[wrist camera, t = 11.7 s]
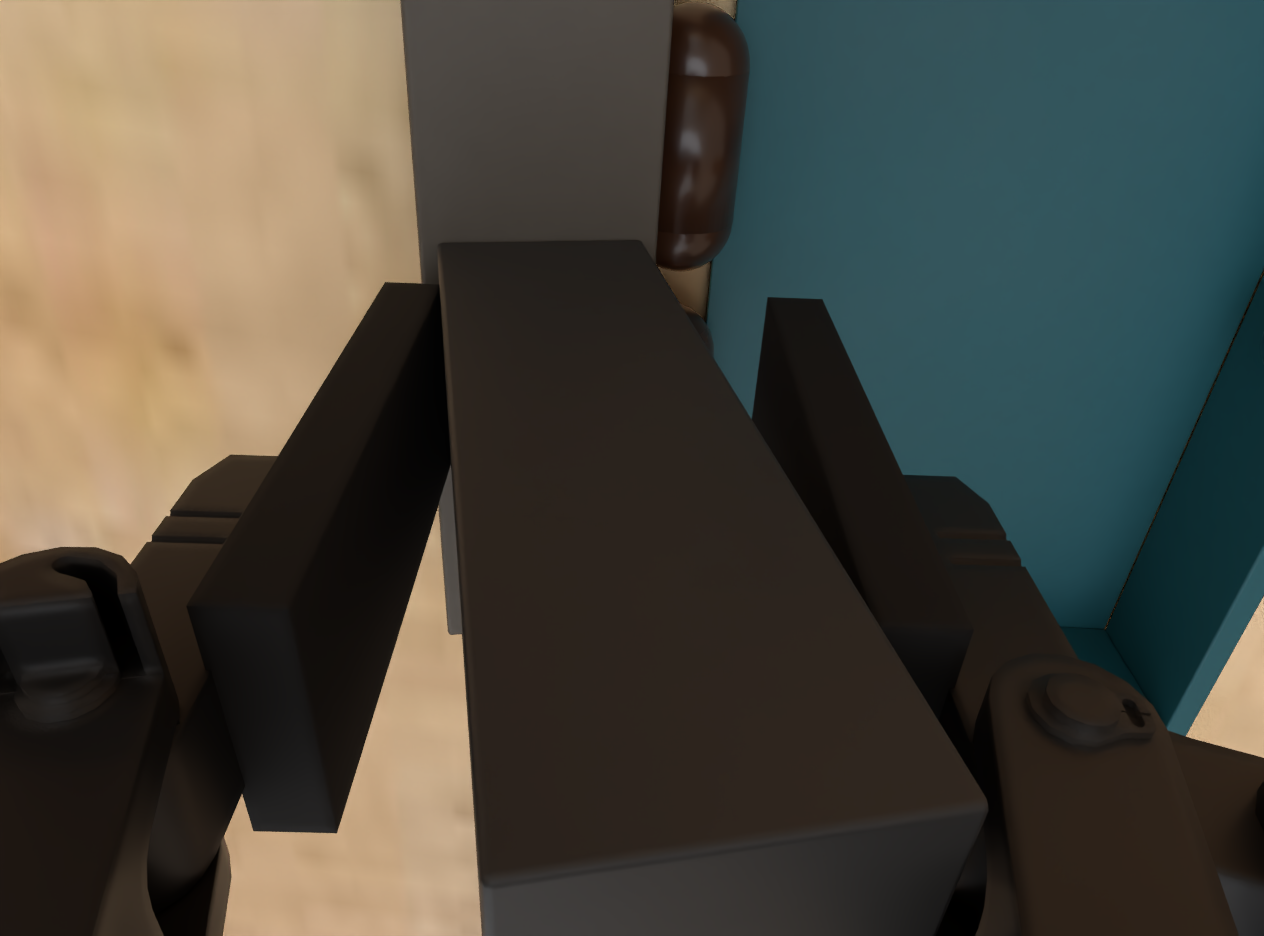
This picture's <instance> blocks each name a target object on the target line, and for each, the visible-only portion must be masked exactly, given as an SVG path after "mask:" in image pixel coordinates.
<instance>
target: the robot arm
mask: <svg viewBox="0 0 1264 936" xmlns="http://www.w3.org/2000/svg"><path fill="white" fill-rule="evenodd" d="M752 421H753V422H754V424H755V426H756V427H757V429H758V430H759V432H760V434H761V435H762V437H763V438H764V440H765V442H766V443H767V445H768V447H769V448H770V450H771V451H772V453H773V455H774V456H775V458H776V459H777V461H778V463H779V464H780V466H781V467H782V469H783V471H784V472H785V474H786V476H787V477H788V479H789V480H790V482H791V484H792V485H793V487H794V488H795V490H796V492H797V493H798V495H799V497H800V498H801V500H802V501H803V503H804V505H805V506H806V508H807V509H808V511H809V513H810V514H811V516H812V518H813V519H814V521H815V522H816V524H817V526H818V527H819V529H820V530H821V532H822V534H823V535H824V537H825V539H826V540H827V542H828V543H829V545H830V547H831V548H832V550H833V551H834V553H835V555H836V556H837V558H838V560H839V561H840V563H841V564H842V566H843V568H844V569H845V571H846V572H847V574H848V576H849V577H850V579H851V580H852V582H853V584H854V585H855V587H856V589H857V590H858V592H859V593H860V595H861V597H862V598H863V600H864V601H865V603H866V605H867V606H868V608H869V610H870V611H871V613H872V614H873V616H874V618H875V619H876V621H877V622H878V624H879V626H880V627H881V629H882V631H883V632H884V634H885V635H886V637H887V639H888V640H889V642H890V643H891V645H892V647H893V648H894V650H895V652H896V653H897V655H898V656H899V658H900V660H901V661H902V663H903V664H904V666H905V668H906V669H907V671H908V673H909V674H910V676H911V677H912V679H913V681H914V682H915V684H916V685H917V687H918V689H919V690H920V692H921V693H922V695H923V697H924V698H925V700H926V702H927V703H928V705H929V706H930V708H931V710H932V711H933V713H934V714H935V716H936V718H937V719H938V721H939V723H940V724H941V726H942V727H943V729H944V731H945V732H946V734H947V735H948V737H949V739H950V740H951V742H952V744H953V745H954V747H955V748H956V750H957V752H958V753H959V755H960V756H961V758H962V760H963V761H964V763H965V765H966V766H967V768H968V769H969V771H970V773H971V774H972V776H973V777H974V779H975V781H976V782H977V784H978V785H979V787H980V789H981V790H982V792H983V794H984V795H985V797H986V799H987V803H988V813H987V816H986V818H985V820H984V823H983V825H982V827H981V830H980V832H979V834H978V837H977V839H976V842H975V844H974V846H973V849H972V851H971V853H970V856H969V858H968V861H967V863H966V865H965V868H964V870H963V872H962V875H961V877H960V880H959V882H958V884H957V887H956V889H955V891H954V894H953V896H952V898H951V901H950V903H949V906H948V908H947V910H946V913H945V915H944V917H943V920H942V922H941V925H940V927H939V929H938V932H937V934H936V936H1264V758H1262V757H1258V756H1254V755H1251V754H1247V753H1243V752H1240V751H1236V750H1232V749H1228V748H1225V747H1221V746H1217V745H1214V744H1210V743H1206V742H1202V741H1199V740H1195V739H1191V738H1189V737H1186V736H1183V735H1180V734H1177V733H1174V732H1171V731H1168V730H1167V728H1166V726H1165V725H1164V723H1163V721H1162V720H1161V718H1160V716H1159V715H1158V713H1157V711H1156V710H1155V708H1154V706H1153V705H1152V704H1151V703H1150V702H1149V701H1148V700H1147V699H1146V698H1144V697H1143V696H1142V695H1141V694H1140V693H1139V692H1138V691H1137V690H1136V689H1134V688H1133V687H1132V686H1131V685H1130V684H1129V683H1128V682H1126V681H1124V680H1123V679H1121V678H1119V677H1117V676H1115V675H1114V674H1112V673H1110V672H1108V671H1106V670H1105V669H1103V668H1101V667H1099V666H1097V665H1095V664H1092V663H1089V662H1085V661H1082V660H1079V659H1078V657H1077V655H1076V654H1075V652H1074V650H1073V649H1072V647H1071V645H1070V643H1069V642H1068V640H1067V638H1066V636H1065V635H1064V633H1063V631H1062V629H1061V628H1060V626H1059V624H1058V623H1057V621H1056V619H1055V617H1054V616H1053V614H1052V612H1051V610H1050V609H1049V607H1048V605H1047V603H1046V602H1045V600H1044V598H1043V596H1042V595H1041V593H1040V591H1039V590H1038V588H1037V586H1036V584H1035V583H1034V581H1033V579H1032V577H1031V576H1030V574H1029V572H1028V570H1027V569H1026V567H1022V566H1021V558H1020V557H1019V555H1018V553H1017V551H1016V550H1015V548H1014V546H1013V544H1012V543H1011V541H1010V540H1006V536H1007V534H1006V532H1005V530H1004V529H1003V527H1002V525H1001V524H1000V522H999V520H998V518H997V517H996V515H995V513H994V511H993V510H992V508H991V506H990V504H989V503H988V502H986V501H985V500H984V499H983V498H982V497H980V496H979V495H978V494H977V493H975V492H974V491H973V490H972V489H970V488H969V487H968V486H967V485H965V484H964V483H963V482H962V481H961V480H959V479H958V478H957V477H956V476H927V475H903V474H902V472H901V470H900V467H899V465H898V463H897V461H896V459H895V456H894V454H893V452H892V450H891V448H890V446H889V443H888V441H887V439H886V437H885V435H884V432H883V430H882V428H881V426H880V424H879V422H878V419H877V417H876V415H875V413H874V411H873V408H872V406H871V404H870V402H869V400H868V398H867V395H866V393H865V391H864V389H863V387H862V384H861V382H860V380H859V378H858V376H857V374H856V371H855V369H854V367H853V365H852V363H851V360H850V358H849V356H848V354H847V352H846V350H845V347H844V345H843V343H842V341H841V339H840V336H839V334H838V332H837V330H836V328H835V326H834V323H833V321H832V319H831V317H830V315H829V313H828V310H827V308H826V306H825V304H824V302H823V299H805V298H779V297H768V298H767V305H766V313H765V321H764V329H763V336H762V344H761V352H760V359H759V367H758V375H757V383H756V390H755V398H754V406H753V413H752ZM450 466H451V458H450V442H449V426H448V411H447V395H446V380H445V364H444V349H443V333H442V318H441V302H440V287H439V284H416V283H390V282H385V283H384V285H383V287H382V288H381V290H380V292H379V293H378V295H377V296H376V298H375V300H374V301H373V303H372V305H371V306H370V308H369V309H368V311H367V313H366V314H365V316H364V318H363V319H362V321H361V322H360V324H359V326H358V327H357V329H356V331H355V332H354V334H353V335H352V337H351V339H350V340H349V342H348V344H347V345H346V347H345V348H344V350H343V352H342V353H341V355H340V357H339V358H338V360H337V361H336V363H335V365H334V366H333V368H332V370H331V371H330V373H329V374H328V376H327V378H326V379H325V381H324V383H323V384H322V386H321V387H320V389H319V391H318V392H317V394H316V396H315V397H314V399H313V400H312V402H311V404H310V405H309V407H308V409H307V410H306V412H305V413H304V415H303V417H302V418H301V420H300V421H299V423H298V425H297V426H296V428H295V430H294V431H293V433H292V434H291V436H290V438H289V439H288V441H287V443H286V444H285V446H284V447H283V449H282V451H281V452H280V454H279V456H251V455H229V456H228V457H226V458H225V459H223V460H222V461H220V462H219V463H217V464H216V465H214V466H213V467H211V468H210V469H208V470H207V471H205V472H204V473H202V474H201V475H199V476H198V477H196V478H195V479H193V480H192V482H191V483H190V484H189V486H188V487H187V488H186V490H185V491H184V492H183V494H182V495H181V496H180V498H179V499H178V501H177V502H176V503H175V505H174V506H173V507H172V509H171V510H170V511H171V514H170V516H166V517H165V518H164V520H163V521H162V522H161V524H160V525H159V526H158V528H157V529H156V531H155V532H154V533H153V535H152V542H147V543H146V544H145V546H144V547H143V548H142V550H141V551H140V552H139V554H138V555H137V556H136V558H135V559H134V561H133V562H132V563H131V565H130V564H129V563H128V562H127V561H126V560H125V559H124V557H123V556H121V555H118V554H115V553H112V552H109V551H105V550H102V549H99V548H96V547H59V548H54V549H49V550H44V551H39V552H33V553H28V554H23V555H20V556H18V557H15V558H13V559H10V560H8V561H5V562H3V563H0V936H223V929H224V923H225V916H226V909H227V903H228V896H229V889H230V883H231V867H230V855H229V851H228V848H227V845H226V842H225V839H224V834H225V832H226V830H227V827H228V825H229V823H230V820H231V818H232V816H233V813H234V811H235V809H236V806H237V804H238V801H239V799H240V797H241V794H243V797H244V801H245V804H246V807H247V811H248V814H249V818H250V821H251V824H252V828H253V831H272V832H313V833H337V831H338V828H339V824H340V821H341V818H342V815H343V812H344V808H345V805H346V802H347V799H348V795H349V792H350V789H351V786H352V782H353V779H354V776H355V773H356V770H357V766H358V763H359V760H360V757H361V753H362V750H363V747H364V744H365V740H366V737H367V734H368V731H369V728H370V724H371V721H372V718H373V715H374V711H375V708H376V705H377V702H378V698H379V695H380V692H381V689H382V686H383V682H384V679H385V676H386V673H387V669H388V666H389V663H390V660H391V656H392V653H393V650H394V647H395V644H396V640H397V637H398V634H399V631H400V627H401V624H402V621H403V618H404V614H405V611H406V608H407V605H408V602H409V598H410V595H411V592H412V589H413V585H414V582H415V579H416V576H417V572H418V569H419V566H420V563H421V560H422V556H423V553H424V550H425V547H426V543H427V540H428V537H429V534H430V530H431V527H432V524H433V521H434V518H435V514H436V511H437V508H438V505H439V501H440V498H441V495H442V492H443V488H444V485H445V482H446V479H447V476H448V472H449V469H450Z"/></svg>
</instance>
